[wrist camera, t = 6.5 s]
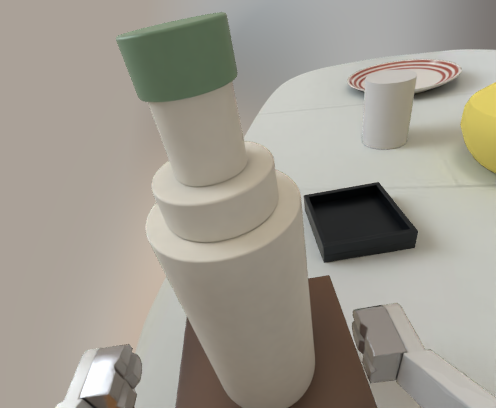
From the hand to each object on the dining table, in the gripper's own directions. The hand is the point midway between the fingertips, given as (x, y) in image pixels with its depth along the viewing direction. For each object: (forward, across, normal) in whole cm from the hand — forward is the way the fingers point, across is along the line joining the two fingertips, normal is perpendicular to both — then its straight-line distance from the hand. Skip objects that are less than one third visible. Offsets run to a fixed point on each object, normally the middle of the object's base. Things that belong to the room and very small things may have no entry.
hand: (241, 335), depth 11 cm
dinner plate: (+77, -44, +19) cm, 91 cm away
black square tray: (+24, -13, +18) cm, 33 cm away
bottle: (+3, 0, +8) cm, 9 cm away
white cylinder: (+47, -27, +19) cm, 58 cm away
